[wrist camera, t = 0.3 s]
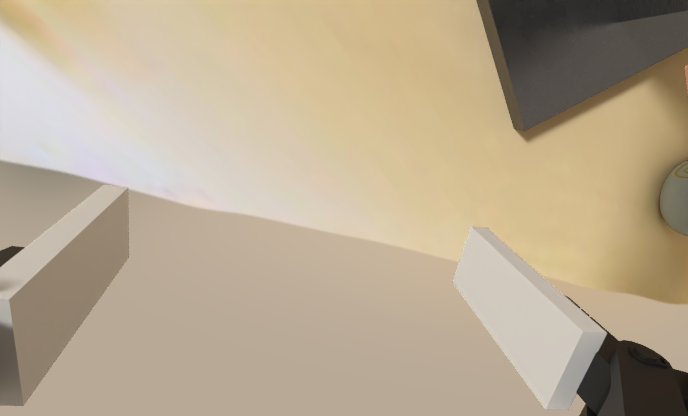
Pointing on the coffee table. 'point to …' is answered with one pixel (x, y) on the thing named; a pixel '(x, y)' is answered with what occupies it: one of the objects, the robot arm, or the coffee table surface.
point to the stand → (575, 48)
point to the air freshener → (676, 199)
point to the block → (687, 75)
